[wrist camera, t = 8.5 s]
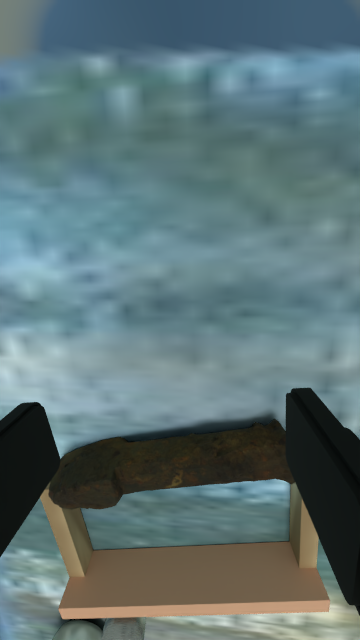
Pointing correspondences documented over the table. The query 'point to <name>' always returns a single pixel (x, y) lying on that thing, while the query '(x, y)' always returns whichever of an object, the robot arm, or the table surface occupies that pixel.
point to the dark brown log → (168, 464)
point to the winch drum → (124, 628)
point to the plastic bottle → (78, 631)
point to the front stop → (194, 582)
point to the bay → (79, 548)
